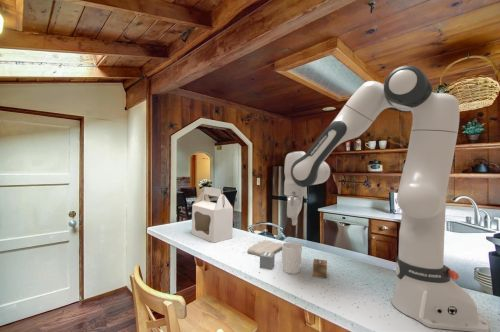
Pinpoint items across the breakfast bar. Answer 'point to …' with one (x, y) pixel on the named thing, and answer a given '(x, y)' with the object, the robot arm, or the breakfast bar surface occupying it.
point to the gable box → (212, 216)
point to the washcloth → (265, 248)
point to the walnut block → (320, 268)
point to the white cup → (291, 257)
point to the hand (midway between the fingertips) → (294, 224)
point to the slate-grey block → (267, 260)
